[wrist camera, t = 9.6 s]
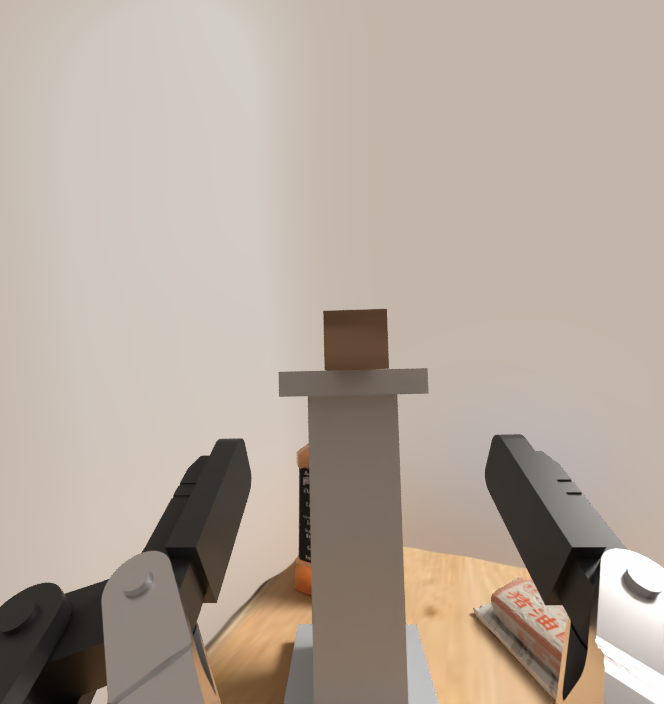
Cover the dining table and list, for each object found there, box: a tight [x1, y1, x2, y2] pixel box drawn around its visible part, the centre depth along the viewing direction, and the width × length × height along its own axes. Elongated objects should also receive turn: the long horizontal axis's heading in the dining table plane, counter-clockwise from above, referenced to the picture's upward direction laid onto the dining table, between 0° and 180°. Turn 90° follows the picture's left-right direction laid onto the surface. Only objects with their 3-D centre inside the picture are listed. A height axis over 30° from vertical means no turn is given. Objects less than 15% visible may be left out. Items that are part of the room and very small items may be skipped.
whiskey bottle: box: [295, 444, 312, 596], centre depth 51 cm, size 10×10×32 cm
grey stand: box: [279, 368, 439, 704], centre depth 32 cm, size 14×14×32 cm
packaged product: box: [473, 578, 569, 701], centre depth 35 cm, size 18×5×10 cm
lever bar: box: [323, 309, 389, 371], centre depth 27 cm, size 22×5×4 cm, turn 178°
